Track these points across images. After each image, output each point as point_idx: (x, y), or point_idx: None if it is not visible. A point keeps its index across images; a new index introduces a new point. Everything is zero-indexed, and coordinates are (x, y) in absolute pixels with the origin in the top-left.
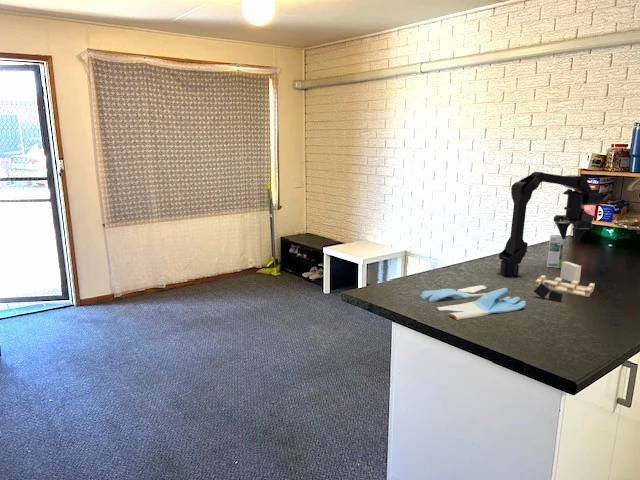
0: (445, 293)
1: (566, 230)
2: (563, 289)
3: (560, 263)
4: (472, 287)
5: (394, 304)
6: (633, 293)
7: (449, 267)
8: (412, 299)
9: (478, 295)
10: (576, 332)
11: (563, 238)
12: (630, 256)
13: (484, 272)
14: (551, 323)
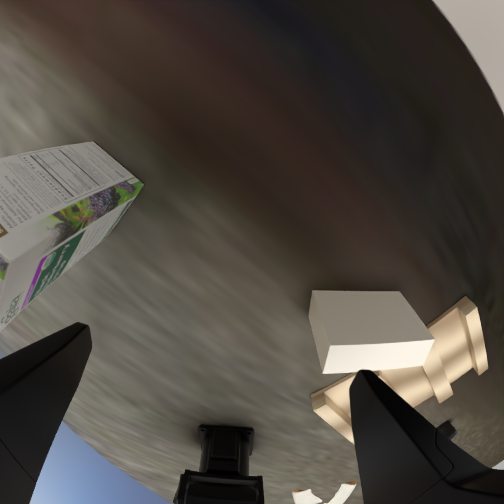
0: None
1: (16, 393)
2: (421, 393)
3: (132, 192)
4: (302, 501)
5: None
6: None
7: (132, 475)
8: None
9: (344, 501)
10: (499, 436)
11: (88, 345)
12: None
13: (182, 459)
14: (471, 452)
